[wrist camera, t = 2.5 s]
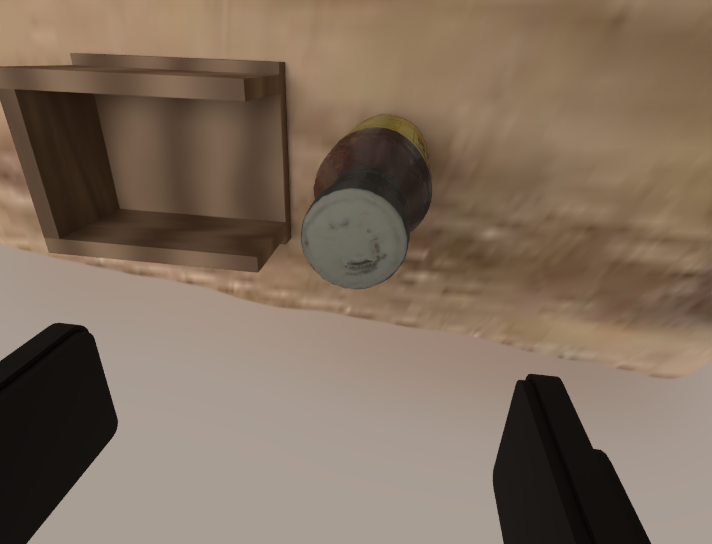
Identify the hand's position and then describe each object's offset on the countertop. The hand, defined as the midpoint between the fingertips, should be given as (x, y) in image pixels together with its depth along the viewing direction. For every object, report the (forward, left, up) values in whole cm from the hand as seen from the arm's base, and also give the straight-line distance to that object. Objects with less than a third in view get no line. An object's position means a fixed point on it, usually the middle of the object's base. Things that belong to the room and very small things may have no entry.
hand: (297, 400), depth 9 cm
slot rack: (+16, +1, -27) cm, 31 cm away
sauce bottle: (0, 0, -27) cm, 27 cm away
